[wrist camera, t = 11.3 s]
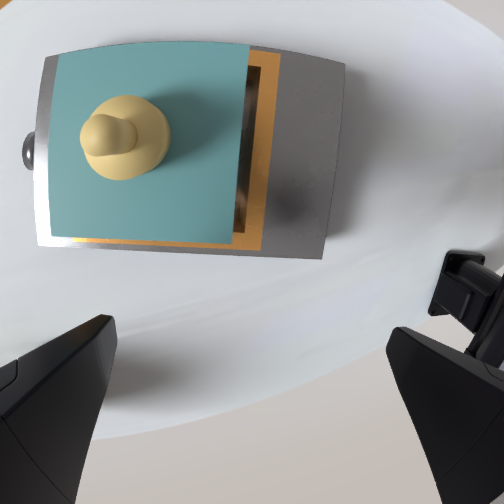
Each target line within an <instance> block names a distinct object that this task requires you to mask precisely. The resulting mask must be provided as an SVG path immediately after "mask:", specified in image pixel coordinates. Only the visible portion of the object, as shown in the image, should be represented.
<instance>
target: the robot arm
mask: <svg viewBox="0 0 504 504" xmlns="http://www.w3.org/2000/svg"><path fill="white" fill-rule="evenodd" d="M484 262H485V256H484V255H482V254H472V253H460V252H448V253H447V254H446V256H445V259H444V262H443V266H442V269H441V273H440V276H439V279H438V283H437V286H436V289H435V292H434V295H433V298H432V301H431V304H430V307H429V309H428V314H429V315H430V316H438V315H448V314H451V315H452V316H453V317H454V318H455V319H457V320H458V321H459V322H460V323H462V325H464V326H465V327H466V328H467V329H468V330H469V331H471V332H472V333H473V334H474V335H475V336H474V337H473V339H472V341H471V343H470V345H469V346H468V348H466V350H465V352H464V353H462V352H460V351H457V350H455V349H453V348H451V347H449V346H446V345H444V344H442V343H440V342H438V341H436V340H433V339H431V338H429V337H427V336H425V335H422V334H420V333H418V332H416V331H414V330H412V329H409V328H407V327H396V328H394V329H393V331H392V333H391V336H390V338H389V341H388V343H387V346H386V354H387V357H388V360H389V363H390V366H391V369H392V371H393V374H394V378H395V381H396V384H397V386H398V389H399V391H400V394H401V396H402V398H403V401H404V403H405V405H406V407H407V410H408V412H409V415H410V416H411V419H412V422H413V424H414V426H415V429H416V432H417V434H418V436H419V439H420V442H421V444H422V447H423V449H424V452H425V455H426V457H427V460H428V463H429V465H430V468H431V471H432V473H433V477H434V479H435V482H436V486H437V489H438V492H439V495H440V498H441V501H442V504H490V503H491V504H504V274H503V276H502V277H501V276H499V275H497V274H496V273H494V272H493V271H491V270H489V269H487V268H486V267H484V266H483V265H484ZM116 348H117V334H116V327H115V320H114V317H113V316H110V315H103V314H101V315H98V316H96V317H94V318H93V319H91V320H89V321H87V322H85V323H83V324H81V325H79V326H77V327H76V328H74V329H72V330H70V331H68V332H66V333H64V334H62V335H60V336H59V337H57V338H55V339H53V340H51V341H49V342H47V343H45V344H44V345H42V346H40V347H38V348H36V349H34V350H32V351H31V352H29V353H27V354H25V355H23V356H21V357H19V358H18V360H17V359H16V360H14V361H12V362H10V363H8V364H7V365H5V366H3V367H1V368H0V504H75V500H76V496H77V492H78V487H79V483H80V479H81V475H82V470H83V467H84V463H85V459H86V455H87V451H88V448H89V445H90V441H91V438H92V434H93V431H94V428H95V424H96V421H97V418H98V415H99V412H100V408H101V405H102V402H103V399H104V396H105V393H106V390H107V387H108V383H109V378H110V374H111V369H112V365H113V360H114V356H115V352H116Z"/></svg>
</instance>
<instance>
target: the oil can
mask: <svg viewBox="0 0 504 504" xmlns="http://www.w3.org/2000/svg"><path fill="white" fill-rule="evenodd" d="M249 49H250V45H244V44H233V43H220V42H195V41H170V42H146V43H133V44H122V45H113V46H105V47H98V48H92V49H86V50H80V51H75V52H70V53H65V54H61V55H59V60H58V65H57V70H56V76H55V82H54V89H53V96H52V105H51V114H50V126H49V142H48V201H49V217H50V229H51V237H71V238H98V239H124V240H149V241H173V242H196V243H219V244H232V235H233V222H234V209H235V196H236V184H237V172H238V161H239V149H240V138H241V128H242V117H243V107H244V97H245V87H246V77H247V67H248V58H249Z"/></svg>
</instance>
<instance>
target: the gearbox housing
mask: <svg viewBox="0 0 504 504" xmlns="http://www.w3.org/2000/svg"><path fill="white" fill-rule="evenodd" d="M168 42H170V41H168ZM144 43H146V42H144ZM130 44H133V43H130ZM120 45H122V44H120ZM111 46H113V45H111ZM103 47H105V46H103ZM96 48H98V47H96ZM89 49H92V48H89ZM83 50H86V49H83ZM78 51H80V50H78ZM72 52H75V51H72ZM67 53H70V52H67ZM63 54H65V53H63ZM59 55H61V54H58V55H54V56H49V57H46V58H45V63H44V68H43V73H42V79H41V85H40V92H39V99H38V107H37V116H36V128H35V132H31V133H29V134H28V135H27V137H26V139H25V141H24V144H23V149H22V157H23V162H24V164H25V166H26V168H27V169H29V170H34V198H35V215H36V227H37V236H38V245H39V246H57V247H76V248H94V249H113V250H133V251H152V252H172V253H193V254H213V255H234V256H255V257H277V258H299V259H321V260H322V255H323V250H324V244H325V238H326V232H327V226H328V220H329V214H330V207H331V200H332V193H333V186H334V179H335V171H336V163H337V155H338V146H339V137H340V127H341V117H342V105H343V92H344V78H345V64H343V63H340V62H336V61H332V60H328V59H324V58H320V57H315V56H311V55H306V54H301V53H296V52H291V51H285V50H279V49H273V48H266V47H259V46H251V45H250V49H249V58H248V67H247V77H246V87H245V97H244V107H243V117H242V128H241V138H240V149H239V161H238V172H237V184H236V196H235V209H234V222H233V235H232V244H219V243H196V242H173V241H149V240H124V239H98V238H71V237H51V229H50V217H49V201H48V142H49V126H50V114H51V105H52V96H53V89H54V82H55V76H56V70H57V65H58V60H59Z"/></svg>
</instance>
